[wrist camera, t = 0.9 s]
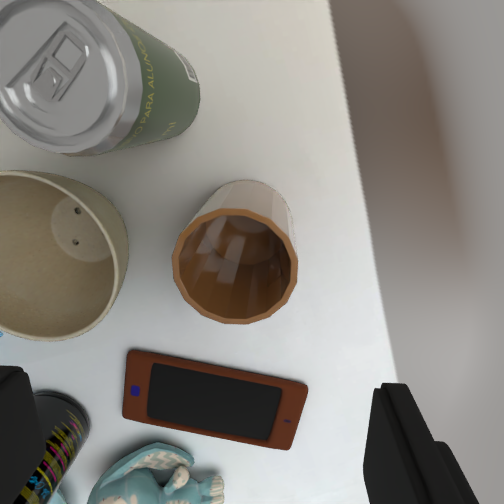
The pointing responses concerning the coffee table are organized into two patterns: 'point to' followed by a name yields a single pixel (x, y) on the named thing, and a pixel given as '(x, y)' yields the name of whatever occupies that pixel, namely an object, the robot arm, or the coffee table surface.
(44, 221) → the flower pot
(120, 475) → the stuffed animal
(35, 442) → the robot arm
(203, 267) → the wooden cup
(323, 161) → the coffee table surface
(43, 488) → the supplement container
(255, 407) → the smartphone
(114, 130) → the beer can
